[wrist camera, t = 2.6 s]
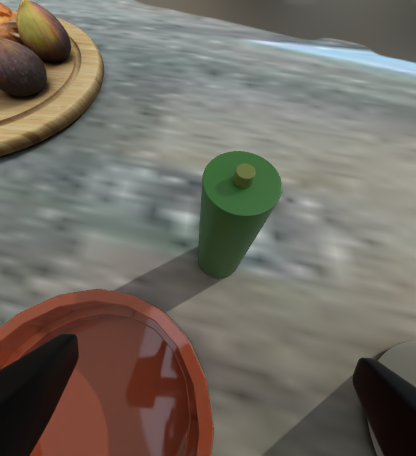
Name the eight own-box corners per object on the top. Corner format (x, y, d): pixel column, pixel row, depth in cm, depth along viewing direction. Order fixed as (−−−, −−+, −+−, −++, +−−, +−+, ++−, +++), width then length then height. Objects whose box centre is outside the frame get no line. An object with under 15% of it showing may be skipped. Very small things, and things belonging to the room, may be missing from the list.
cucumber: (247, 257, 23) (304, 172, 11) (219, 287, 22) (252, 224, 10) (217, 230, 24) (240, 128, 12) (189, 257, 23) (185, 169, 11)
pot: (247, 403, 18) (269, 428, 13) (66, 663, 12) (-20, 884, 7) (124, 267, 22) (104, 246, 17) (-53, 415, 16) (-159, 448, 11)
